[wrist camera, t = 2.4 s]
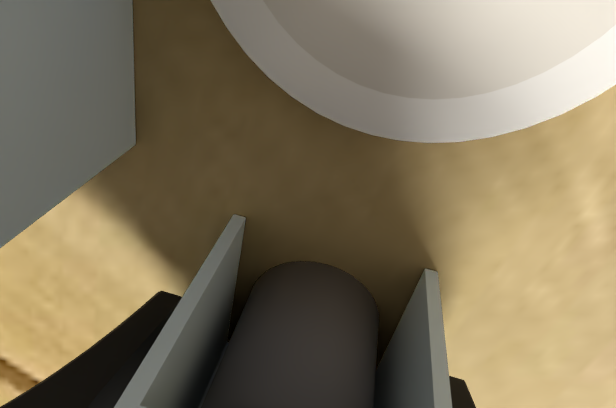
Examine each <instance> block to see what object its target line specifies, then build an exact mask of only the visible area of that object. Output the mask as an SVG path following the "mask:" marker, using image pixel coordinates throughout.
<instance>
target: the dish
mask: <svg viewBox="0 0 616 408" xmlns="http://www.w3.org/2000/svg"><path fill="white" fill-rule="evenodd" d="M211 2H212V4H213V5H214V7H215V9H216V10H217V12H218V14H219V16H220V17H221V19H222V21H223V22H224V24H225V26H226V27H227V29H228V30H229V32H230V33H231V34H232V36H233V37H234V38H235V40H236V41H237V42H238V44H239V45H240V46H241V48H242V49H243V50H244V52H245V53H246V54H247V55H248V56H249V57H250V59H251V60H252V61H253V62H254V63H255V64H256V65H257V66H258V67H259V68H260V69H261V70H262V71H263V72H264V73H265V74H266V75H267V77H268V78H270V79H271V80H272V81H273V82H274V83H276V84H277V85H278V86H279V87H280V88H282V89H283V90H284V91H285V92H286V93H288V94H289V95H290V96H291V97H293V98H294V99H296V100H297V101H299V102H300V103H302V104H304V105H305V106H307V107H308V108H310V109H311V110H313V111H314V112H316V113H318V114H320V115H322V116H324V117H326V118H328V119H330V120H332V121H335V122H337V123H339V124H341V125H343V126H346V127H349V128H352V129H355V130H358V131H361V132H364V133H367V134H370V135H374V136H379V137H384V138H389V139H394V140H398V141H410V142H422V143H444V142H463V141H469V140H476V139H483V138H489V137H494V136H498V135H502V134H506V133H509V132H513V131H517V130H521V129H524V128H527V127H530V126H533V125H535V124H538V123H541V122H543V121H546V120H548V119H551V118H554V117H556V116H559V115H561V114H563V113H565V112H567V111H569V110H571V109H573V108H575V107H577V106H579V105H581V104H583V103H585V102H587V101H589V100H591V99H593V98H595V97H597V96H598V95H600V94H601V93H603V92H604V91H606V90H608V89H609V88H611V87H612V86H614V85H616V0H211Z"/></svg>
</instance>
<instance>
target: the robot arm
mask: <svg viewBox="0 0 616 408" xmlns="http://www.w3.org/2000/svg"><path fill="white" fill-rule="evenodd" d="M181 298H182V297H181V296H178V295H174V294H171V293H167V292H164V291H160V292H158V293H157V294H155V295H154V296H153V297H152V298H151V299H150V300H149V301H147V302H146V303H145V304H144V305H143V306H142V307H141V308H139V309H138V310H137V311H136V312H135V313H133V314H132V315H131V316H130V317H129V318H127V319H126V320H125V321H124V322H122V323H121V324H120V325H119V326H118V327H116V328H115V329H114V330H112V331H111V332H110V333H109V334H107V335H106V336H105V337H103V338H102V339H101V340H99V341H98V342H97V343H96V344H94V345H93V346H92V347H90V348H89V349H88V350H86V351H85V352H84V353H82V354H81V355H79V356H78V357H76V358H75V359H74V360H72V361H71V362H69V363H68V364H67V365H65V366H64V367H62V368H61V369H59V370H58V371H57V372H55V373H54V374H52V375H51V376H49V377H48V378H46V379H45V380H43V381H42V382H40V383H39V384H37V385H35V386H34V387H32V388H31V389H29V390H28V391H26V392H24V393H23V394H21V395H19V396H18V397H16V398H15V399H13V400H11V401H10V402H8V403H6V404H5V405H3V406H1V407H0V408H114V407H115V405H116V403H117V402H118V400H119V399H120V397H121V395H122V394H123V392H124V390H125V389H126V387H127V386H128V384H129V382H130V381H131V379H132V378H133V376H134V374H135V373H136V371H137V369H138V368H139V366H140V365H141V363H142V361H143V360H144V358H145V357H146V355H147V353H148V352H149V350H150V348H151V347H152V345H153V344H154V342H155V340H156V339H157V337H158V336H159V334H160V332H161V331H162V329H163V327H164V326H165V324H166V323H167V321H168V319H169V318H170V316H171V315H172V313H173V311H174V310H175V308H176V306H177V305H178V303H179V302H180V300H181ZM449 381H450V391H451V400H452V408H476V407H475V404H474V402H473V400H472V397H471V395H470V392H469V390H468V388H467V385H466V383H465V381H464V380H461V379H458V378H455V377H451V376H449Z"/></svg>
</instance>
